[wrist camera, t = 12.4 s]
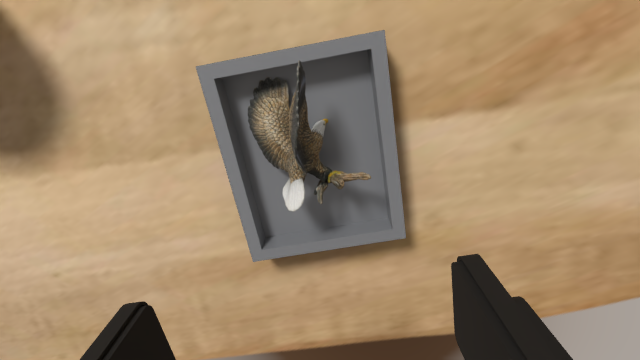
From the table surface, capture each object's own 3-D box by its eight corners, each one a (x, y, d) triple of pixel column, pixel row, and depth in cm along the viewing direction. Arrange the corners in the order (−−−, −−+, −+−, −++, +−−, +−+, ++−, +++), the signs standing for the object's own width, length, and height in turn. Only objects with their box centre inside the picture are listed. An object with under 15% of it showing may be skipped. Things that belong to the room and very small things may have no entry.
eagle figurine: (386, 141, 26) (319, 38, 22) (359, 213, 22) (270, 101, 18) (313, 163, 31) (247, 82, 27) (279, 224, 27) (194, 139, 22)
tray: (377, 32, 25) (384, 29, 22) (398, 221, 31) (406, 238, 28) (209, 64, 26) (195, 66, 23) (258, 243, 32) (253, 261, 29)
